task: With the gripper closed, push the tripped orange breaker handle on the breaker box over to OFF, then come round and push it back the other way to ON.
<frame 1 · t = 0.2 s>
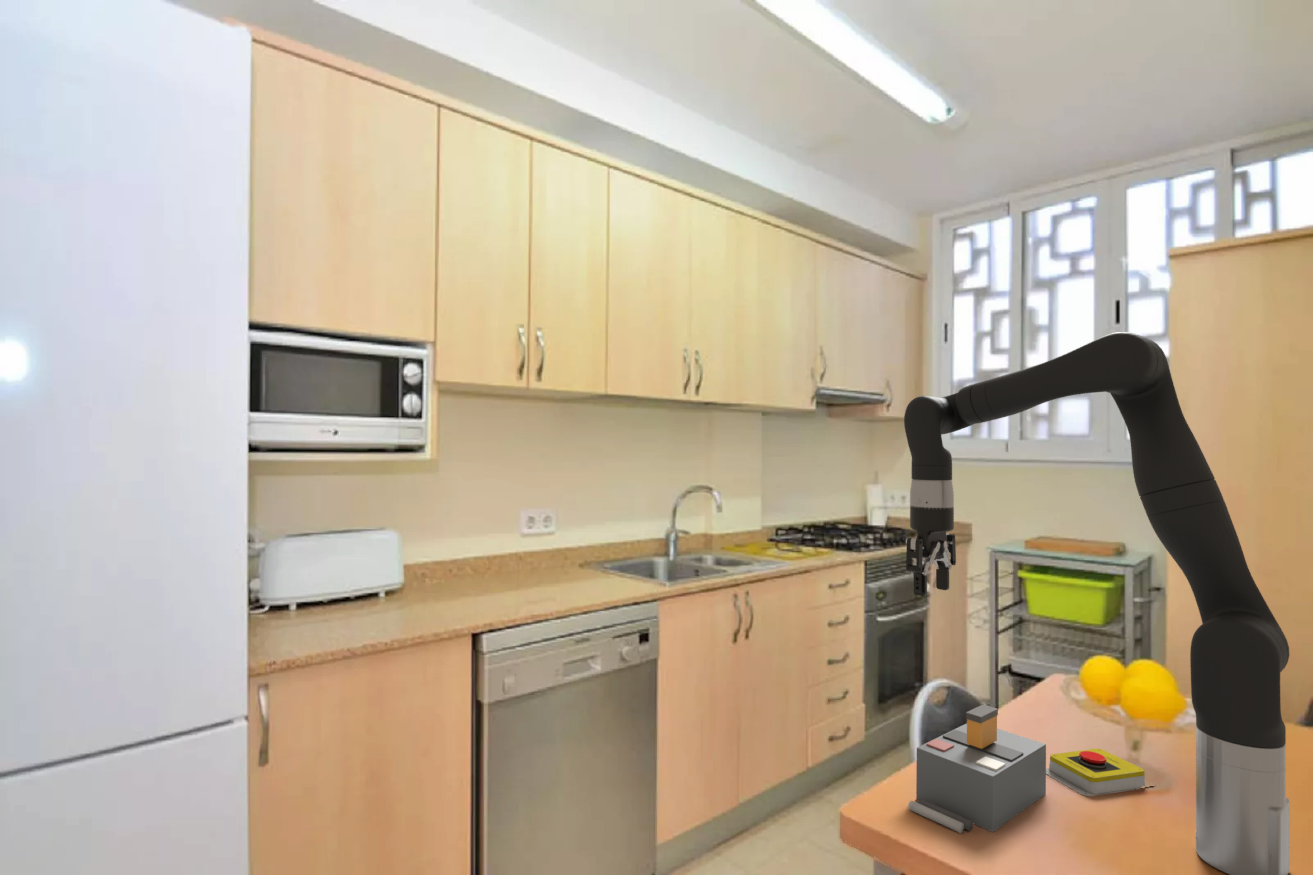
hand: (931, 592, 127), 29 cm above the table, tool pointing down, fingers open, 8 cm apart
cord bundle: (942, 821, 102), on the table
breaker handle: (982, 726, 110), point 11 cm above the table, slide at 0.0 cm
breaker box: (981, 796, 110), on the table
emergency button: (1097, 782, 116), on the table
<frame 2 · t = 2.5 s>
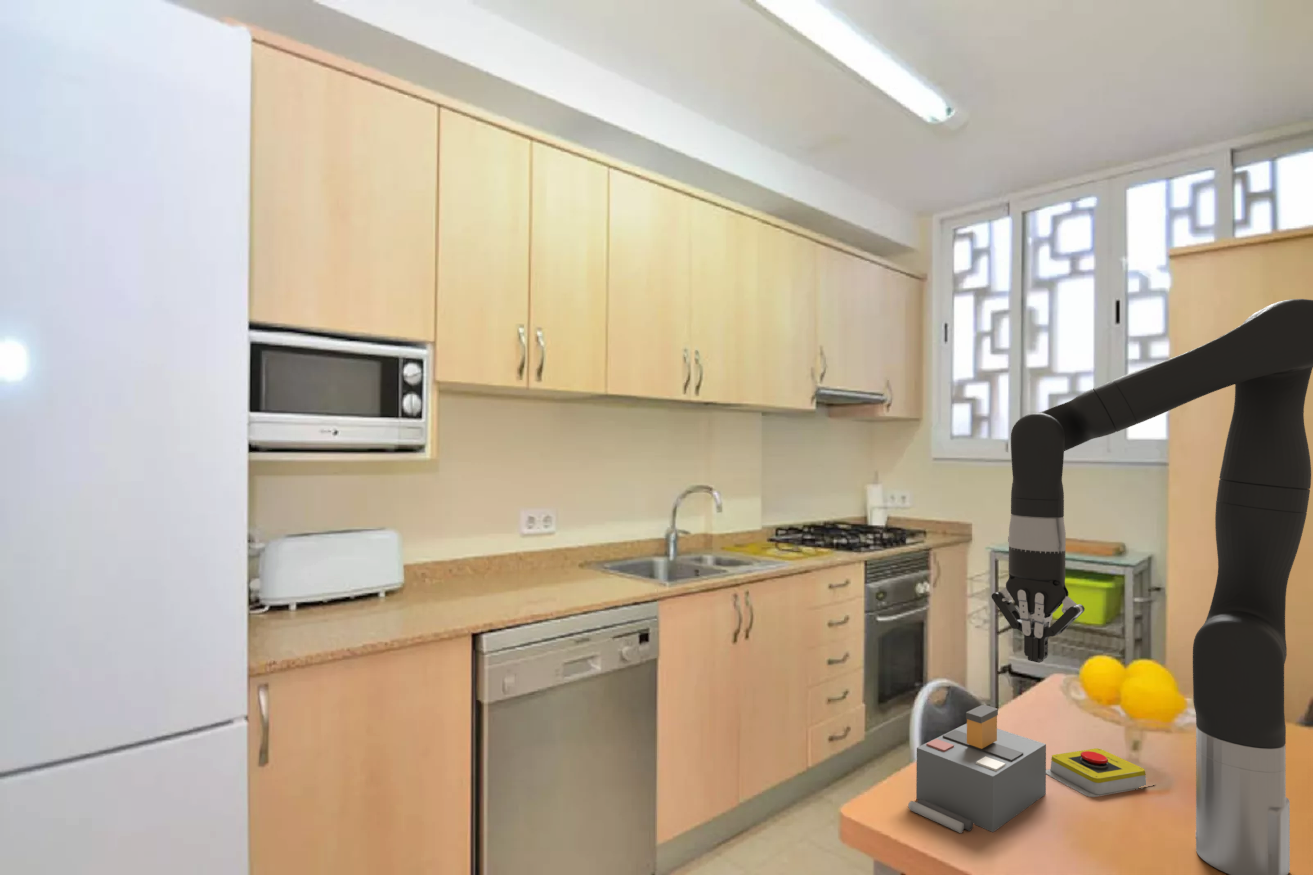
hand: (1035, 660, 104), 24 cm above the table, tool pointing down, fingers closed
nothing on the table moved.
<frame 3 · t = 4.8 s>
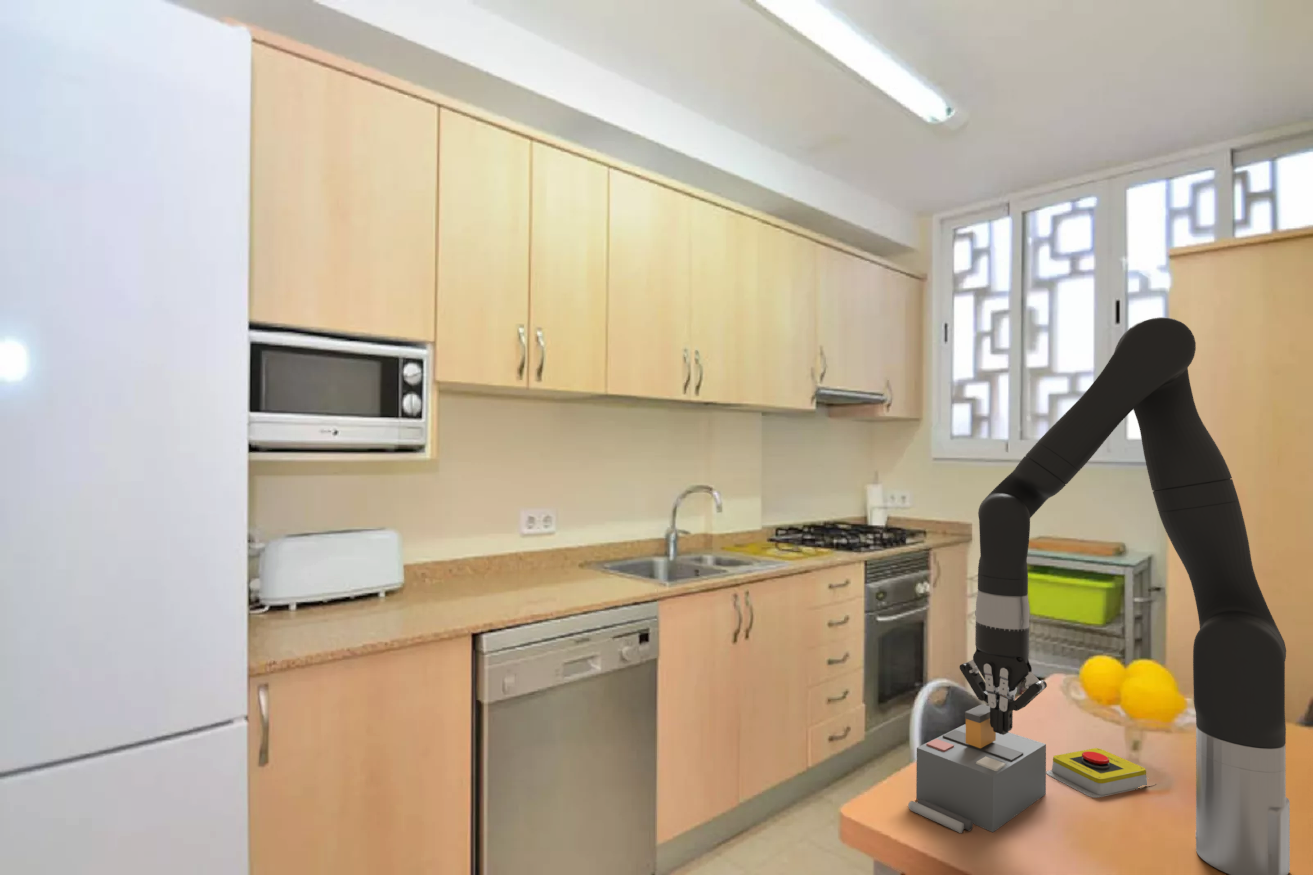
hand: (1000, 732, 107), 11 cm above the table, tool pointing down, fingers closed
breaker handle: (980, 726, 110), point 11 cm above the table, slide at 0.2 cm, touching gripper
everything else where it was.
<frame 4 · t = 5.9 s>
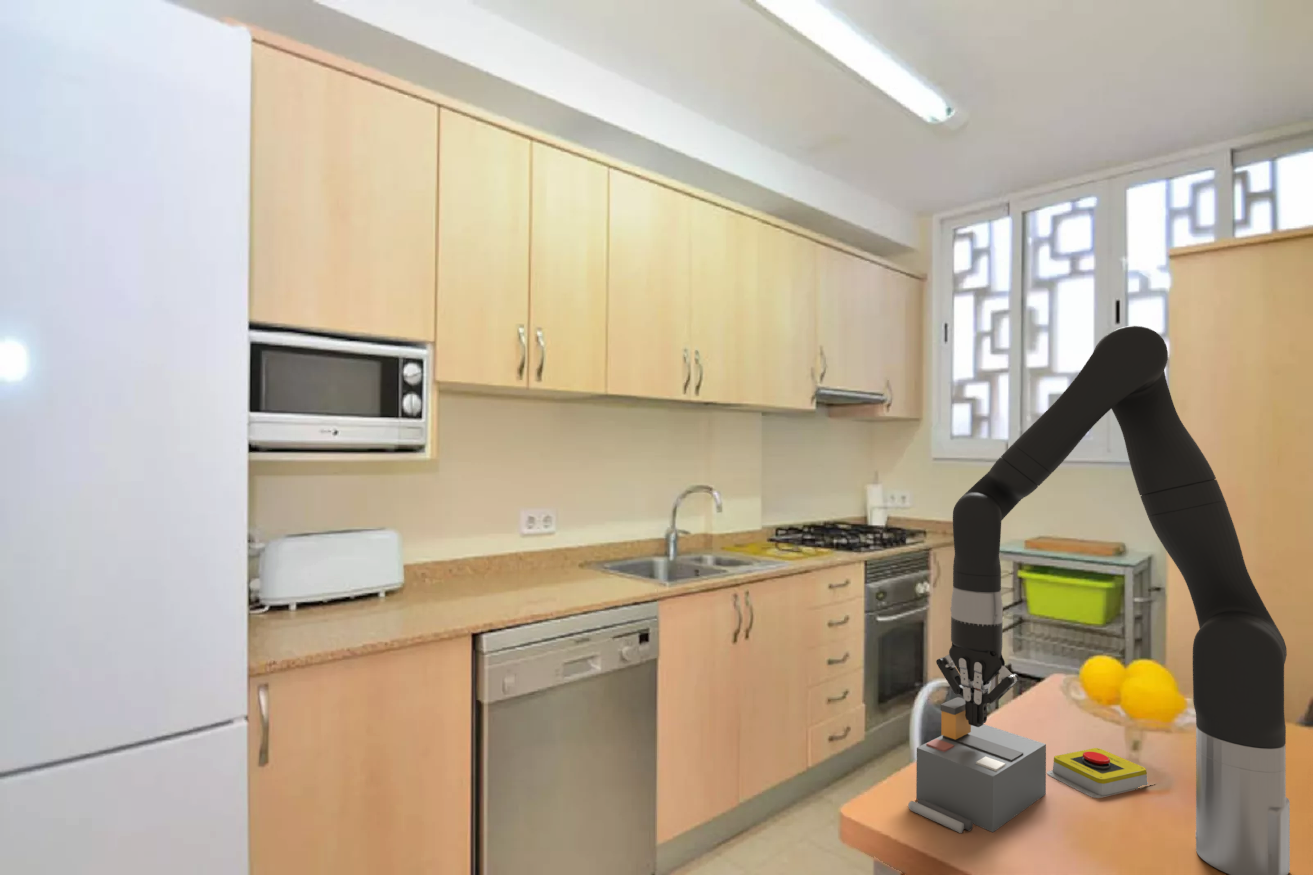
hand: (975, 724, 110), 11 cm above the table, tool pointing down, fingers closed
breaker handle: (956, 718, 113), point 11 cm above the table, slide at 4.3 cm, touching gripper
everything else where it was.
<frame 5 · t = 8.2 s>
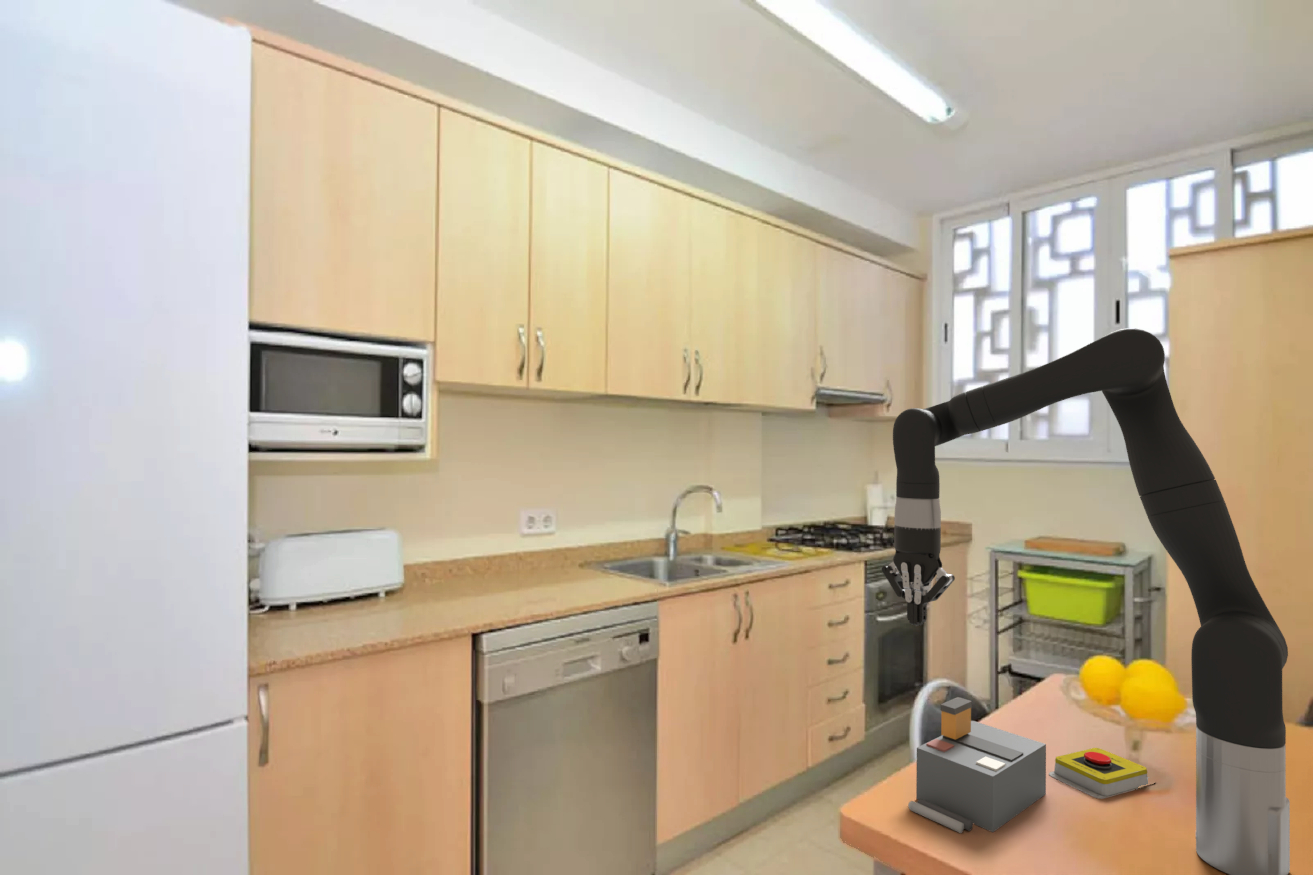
hand: (916, 624, 119), 25 cm above the table, tool pointing down, fingers closed
breaker handle: (956, 718, 113), point 11 cm above the table, slide at 4.3 cm
everything else where it was.
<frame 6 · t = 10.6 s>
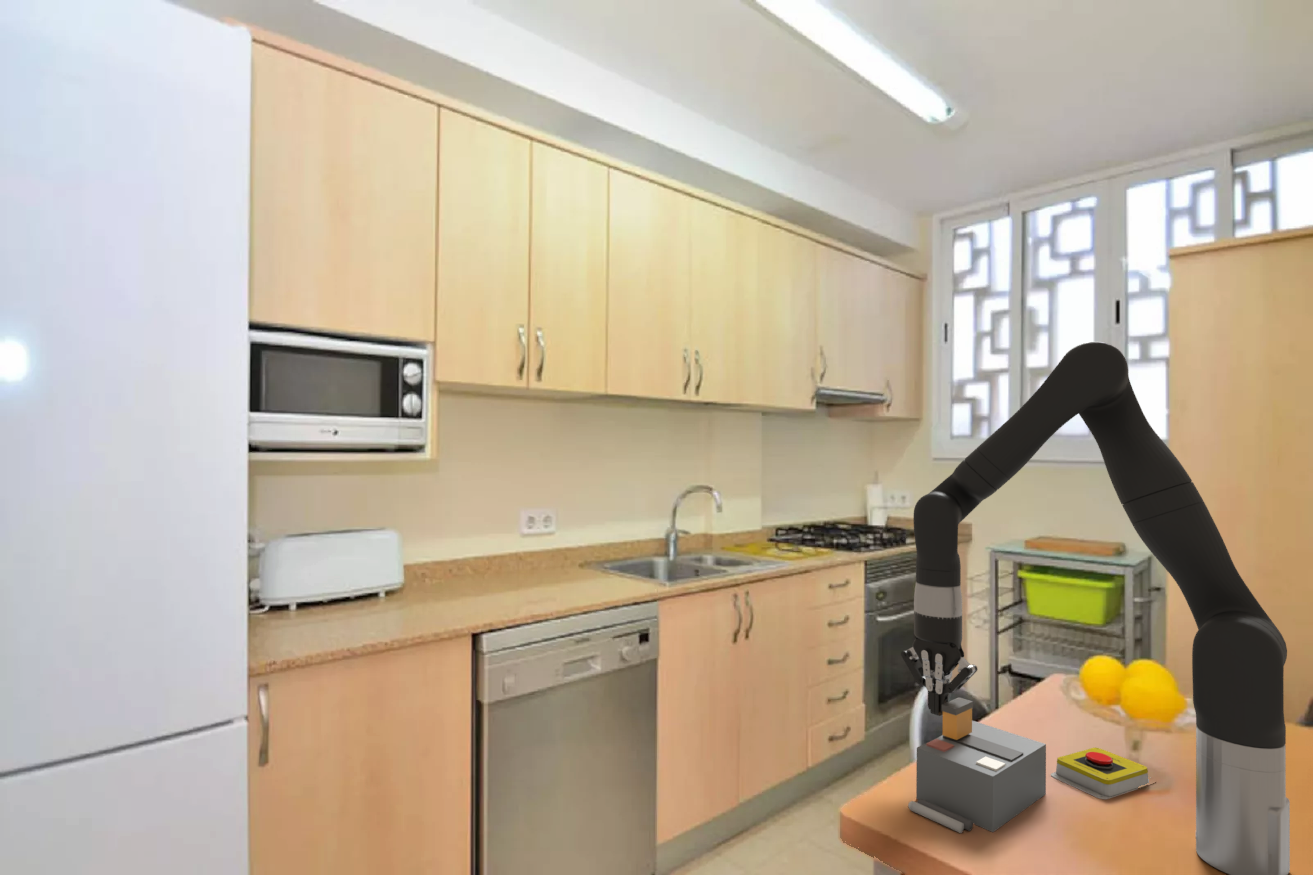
hand: (937, 713, 116), 11 cm above the table, tool pointing down, fingers closed
breaker handle: (957, 718, 113), point 11 cm above the table, slide at 4.1 cm, touching gripper
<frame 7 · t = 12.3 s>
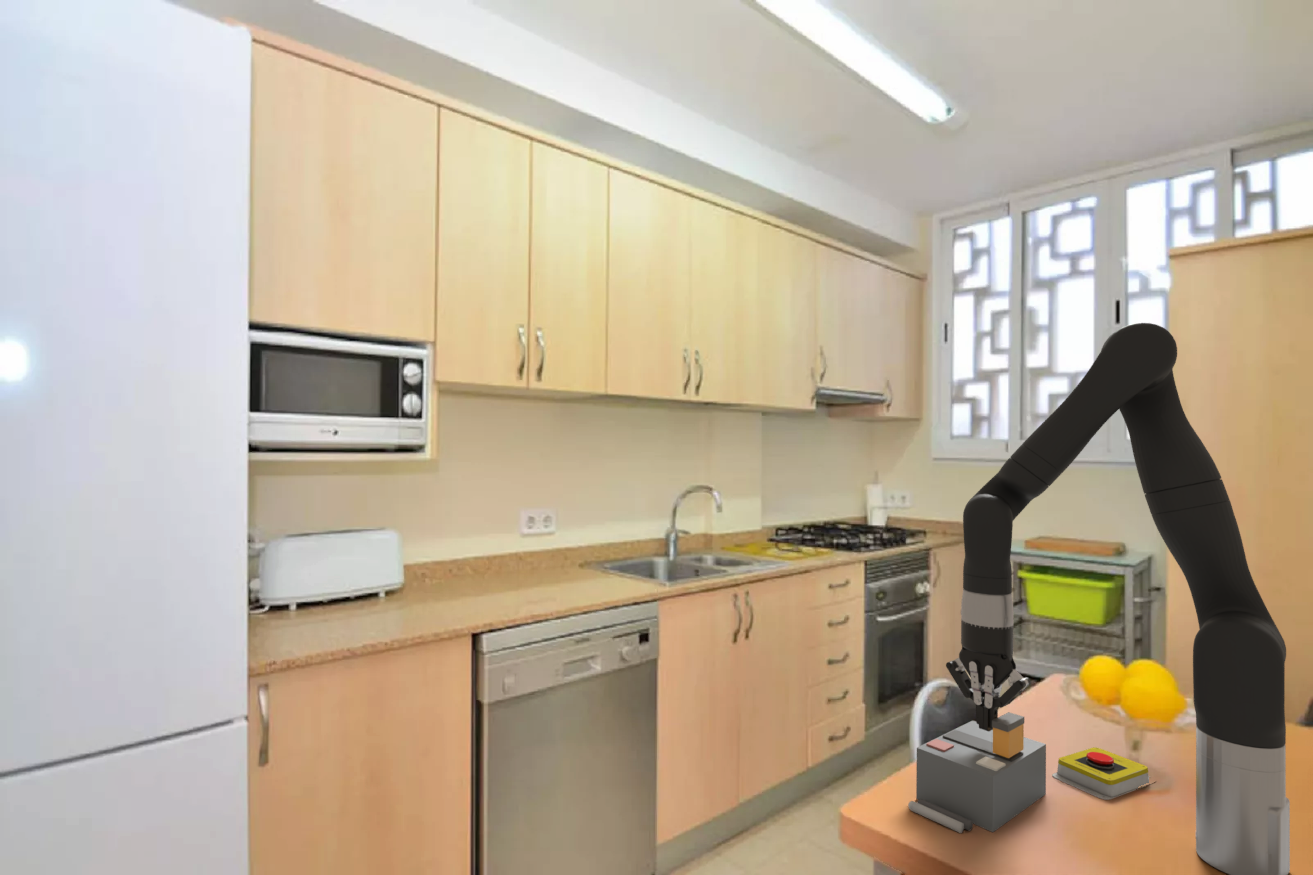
hand: (986, 728, 109), 11 cm above the table, tool pointing down, fingers closed
breaker handle: (1008, 734, 107), point 11 cm above the table, slide at -4.1 cm, touching gripper
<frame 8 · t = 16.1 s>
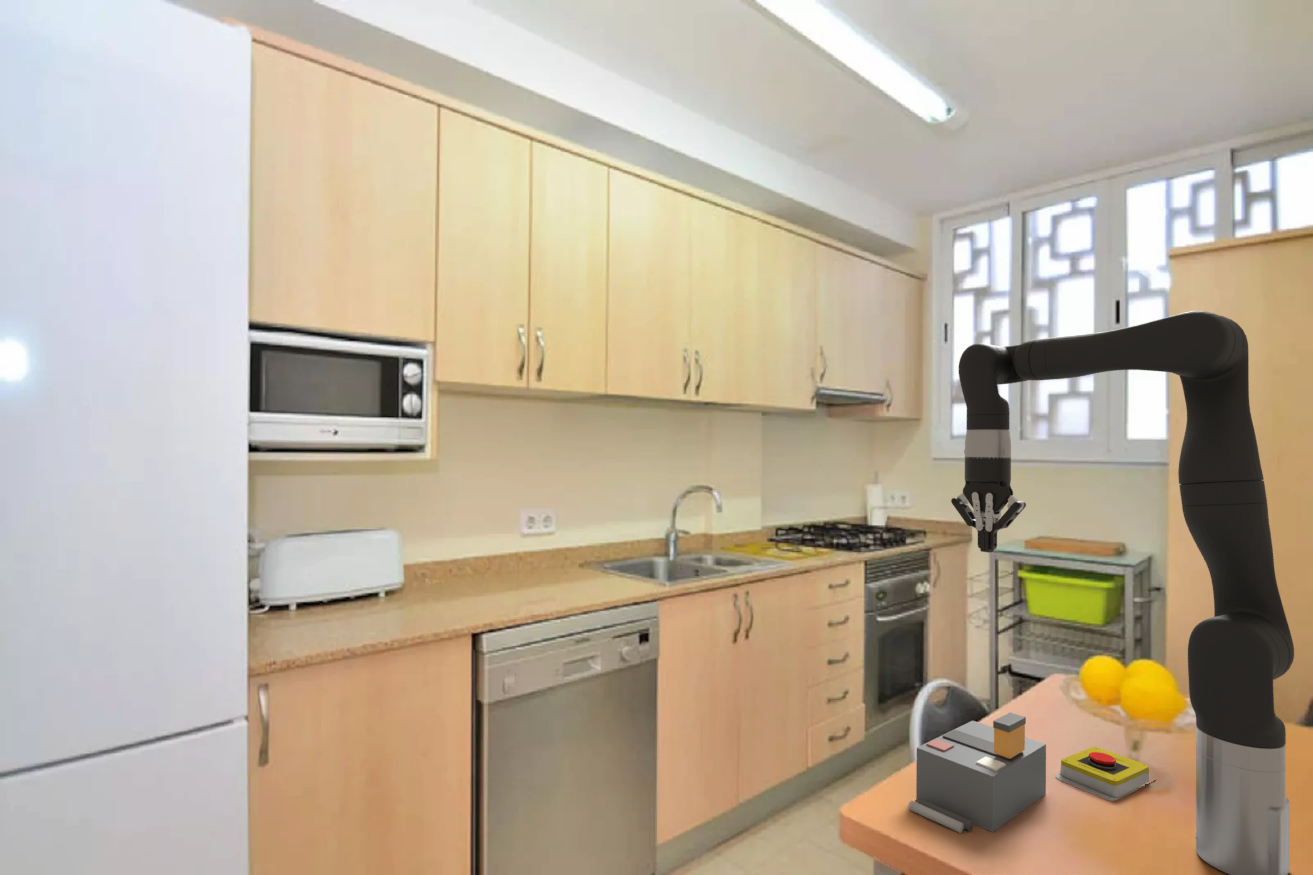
hand: (987, 551, 124), 37 cm above the table, tool pointing down, fingers closed
breaker handle: (1009, 735, 106), point 11 cm above the table, slide at -4.3 cm
at the end: breaker handle slide at -4.3 cm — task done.
